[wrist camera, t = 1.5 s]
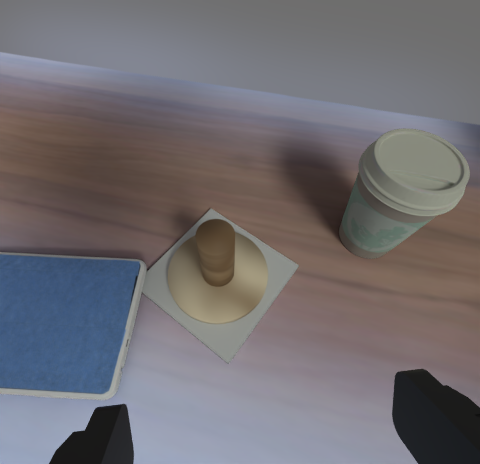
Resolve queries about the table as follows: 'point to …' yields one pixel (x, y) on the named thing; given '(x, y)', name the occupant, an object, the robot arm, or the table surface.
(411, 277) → the table surface
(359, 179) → the coffee cup
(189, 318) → the coaster
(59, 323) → the tablet computer
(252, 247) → the lid
